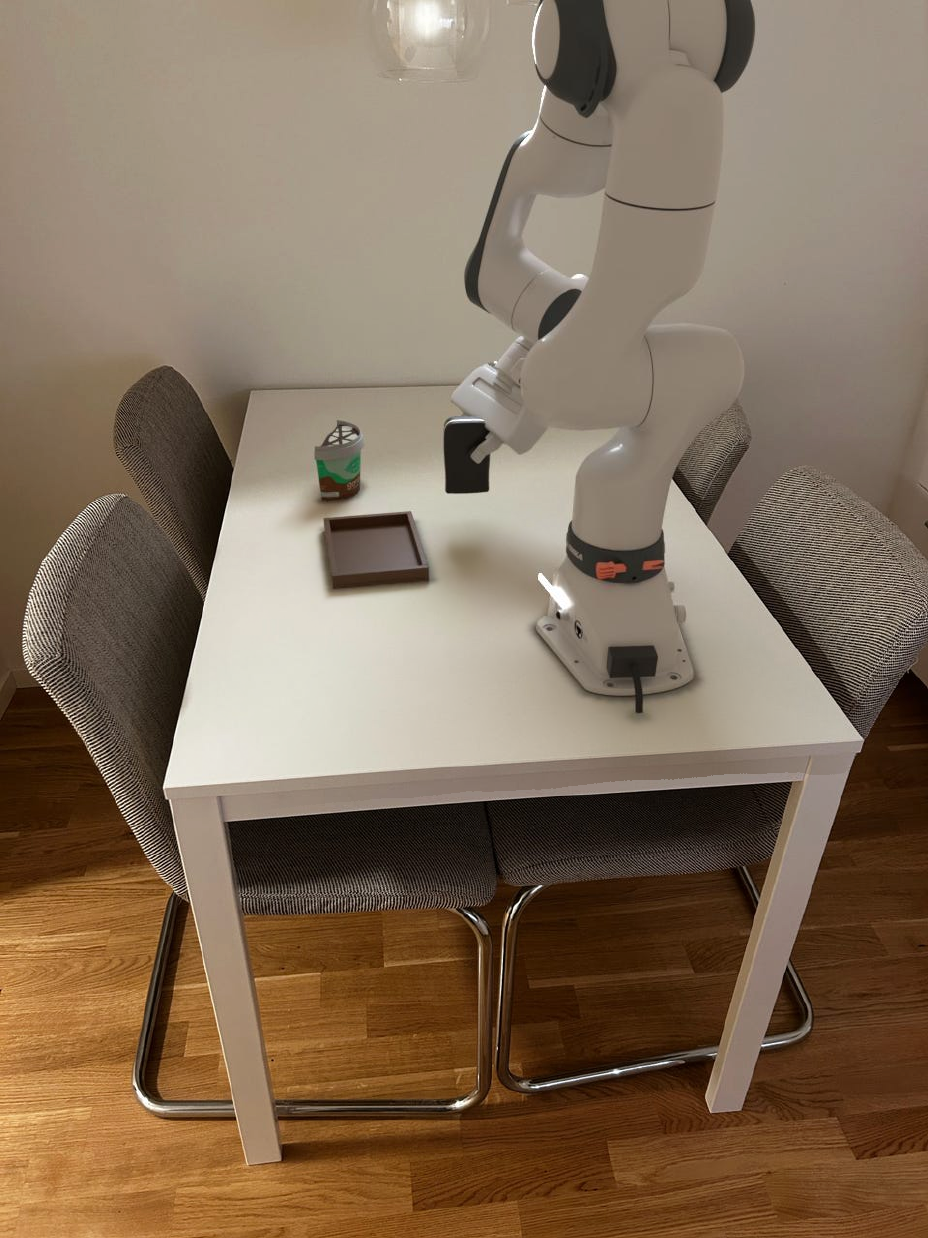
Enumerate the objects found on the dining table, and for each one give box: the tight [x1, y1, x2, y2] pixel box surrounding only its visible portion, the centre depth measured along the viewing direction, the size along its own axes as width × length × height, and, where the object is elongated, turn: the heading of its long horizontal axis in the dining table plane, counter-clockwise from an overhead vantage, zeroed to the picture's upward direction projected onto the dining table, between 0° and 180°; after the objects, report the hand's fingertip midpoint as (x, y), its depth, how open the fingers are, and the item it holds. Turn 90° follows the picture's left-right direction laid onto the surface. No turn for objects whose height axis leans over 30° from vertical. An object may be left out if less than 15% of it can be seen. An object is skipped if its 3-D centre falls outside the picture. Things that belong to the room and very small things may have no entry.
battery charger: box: [442, 415, 492, 495], centre depth 140 cm, size 7×4×11 cm, turn 94°
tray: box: [323, 510, 430, 590], centre depth 139 cm, size 18×14×2 cm
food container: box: [314, 419, 366, 502], centre depth 154 cm, size 12×6×10 cm, turn 168°
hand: (463, 451), depth 139 cm, fingers closed on battery charger, 5 cm apart
